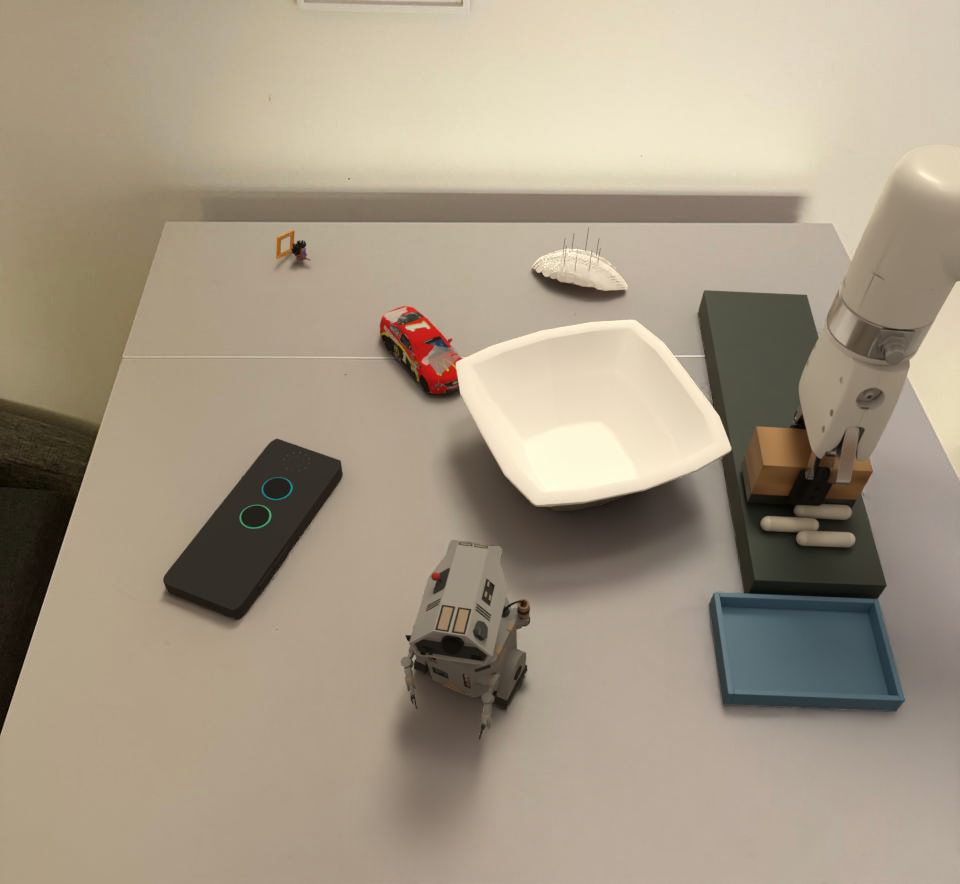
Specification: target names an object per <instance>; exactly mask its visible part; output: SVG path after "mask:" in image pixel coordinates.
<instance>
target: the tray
mask: <svg viewBox="0 0 960 884" xmlns="http://www.w3.org/2000/svg"><path fill="white" fill-rule="evenodd" d="M708 607H709V616H710V622H711V623H710V624H711V630H712V639H713V645H714V651H715V659H716V660H715V661H716V666H717V667H716V668H717V673H718V680H719V688H720V694H721V702H722V705H725V706H749V707H750V706H751V707H752V706H753V707H772V708H773V707H775V708H777V707H778V708H799V709H800V708H801V709H825V710H827V709H828V710H848V711H849V710H851V711H852V710H853V711H877V712H897V711H898V710H899V709H900V708H901V707H902V706H903V704H904V703H905V702H906V697H905V694H904V691H903V687H902V683H901V678H900V675H899V672H898V671H899V670H898V668H897V664H896V660H895V656H894V652H893V649H892V645H891V642H890V638H889V634H888V630H887V626H886V623H885V620H884V615H883V612H882V611H883V610H882V607H881V604H880V601H879V598H878V599H865V598H841V597H816V596H792V595H767V594H745V593H740V592H739V593H738V592H717V591H716V592H715V591H714V592H713V593H712V596H711V597H710V601H709V603H708Z"/></svg>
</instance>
